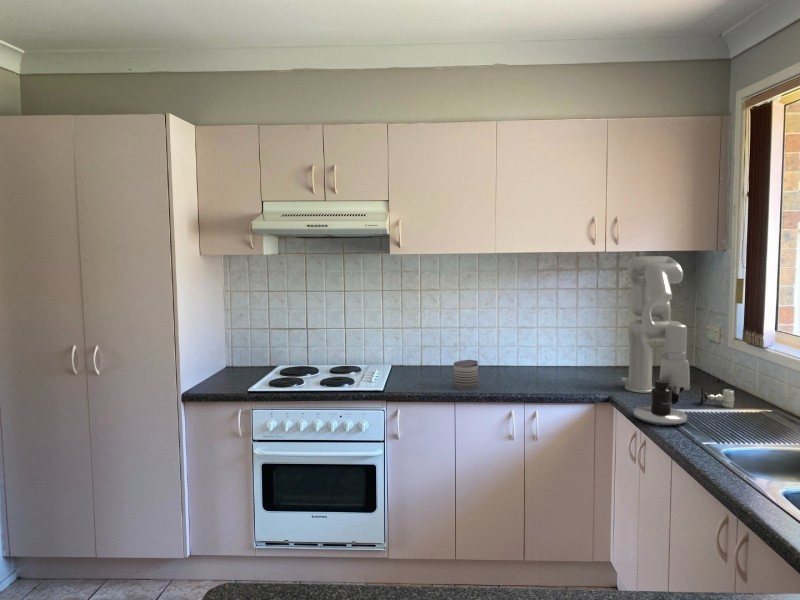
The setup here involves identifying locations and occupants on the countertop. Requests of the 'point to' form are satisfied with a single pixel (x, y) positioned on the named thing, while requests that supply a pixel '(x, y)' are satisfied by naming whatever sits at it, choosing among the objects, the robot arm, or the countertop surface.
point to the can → (466, 374)
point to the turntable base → (657, 423)
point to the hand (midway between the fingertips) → (673, 403)
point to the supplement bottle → (661, 398)
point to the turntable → (660, 416)
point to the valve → (719, 397)
